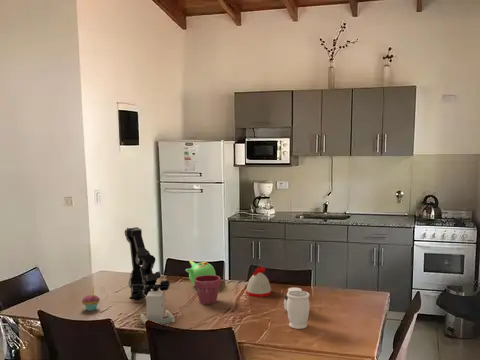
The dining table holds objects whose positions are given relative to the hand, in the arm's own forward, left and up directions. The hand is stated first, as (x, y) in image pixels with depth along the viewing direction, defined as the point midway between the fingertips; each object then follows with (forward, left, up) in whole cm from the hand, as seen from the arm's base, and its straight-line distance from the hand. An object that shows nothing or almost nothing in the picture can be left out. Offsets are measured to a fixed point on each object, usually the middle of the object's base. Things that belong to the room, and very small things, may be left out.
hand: (154, 302), depth 226 cm
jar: (+68, +18, -7) cm, 70 cm away
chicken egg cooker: (+32, +56, -7) cm, 64 cm away
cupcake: (-36, -4, -7) cm, 37 cm away
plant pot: (+13, +31, -7) cm, 34 cm away
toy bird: (-5, +55, -7) cm, 55 cm away
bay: (+4, -3, -7) cm, 9 cm away
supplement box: (+3, -3, -7) cm, 8 cm away
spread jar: (+60, +36, -7) cm, 70 cm away
